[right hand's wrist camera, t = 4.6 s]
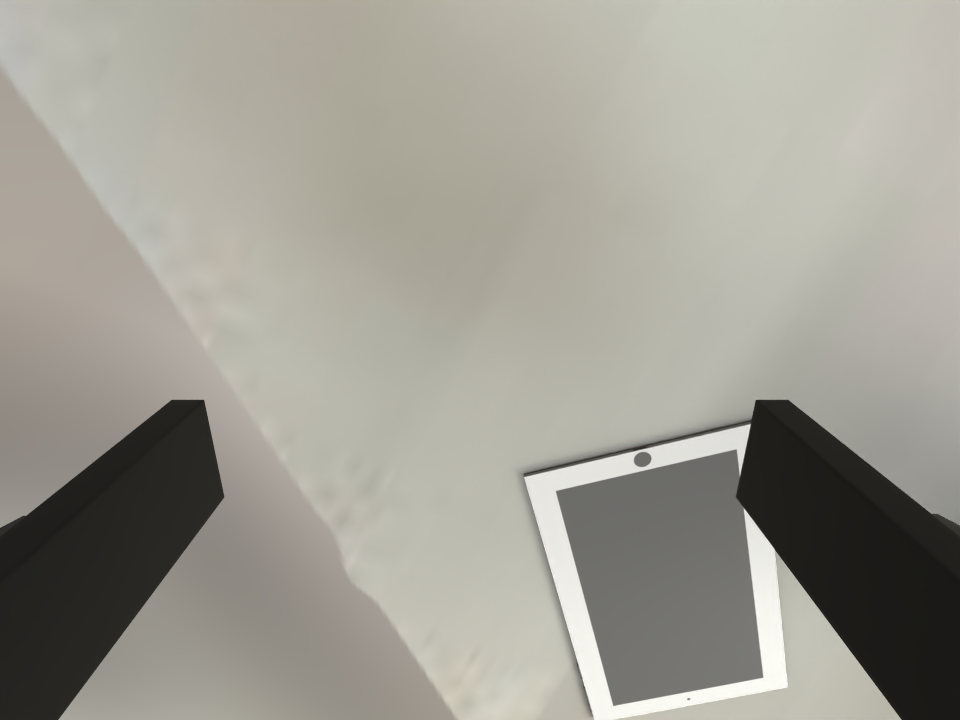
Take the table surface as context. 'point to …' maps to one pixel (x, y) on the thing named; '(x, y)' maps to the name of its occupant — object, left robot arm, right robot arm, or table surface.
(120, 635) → the right robot arm
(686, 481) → the tablet
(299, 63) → the table surface
